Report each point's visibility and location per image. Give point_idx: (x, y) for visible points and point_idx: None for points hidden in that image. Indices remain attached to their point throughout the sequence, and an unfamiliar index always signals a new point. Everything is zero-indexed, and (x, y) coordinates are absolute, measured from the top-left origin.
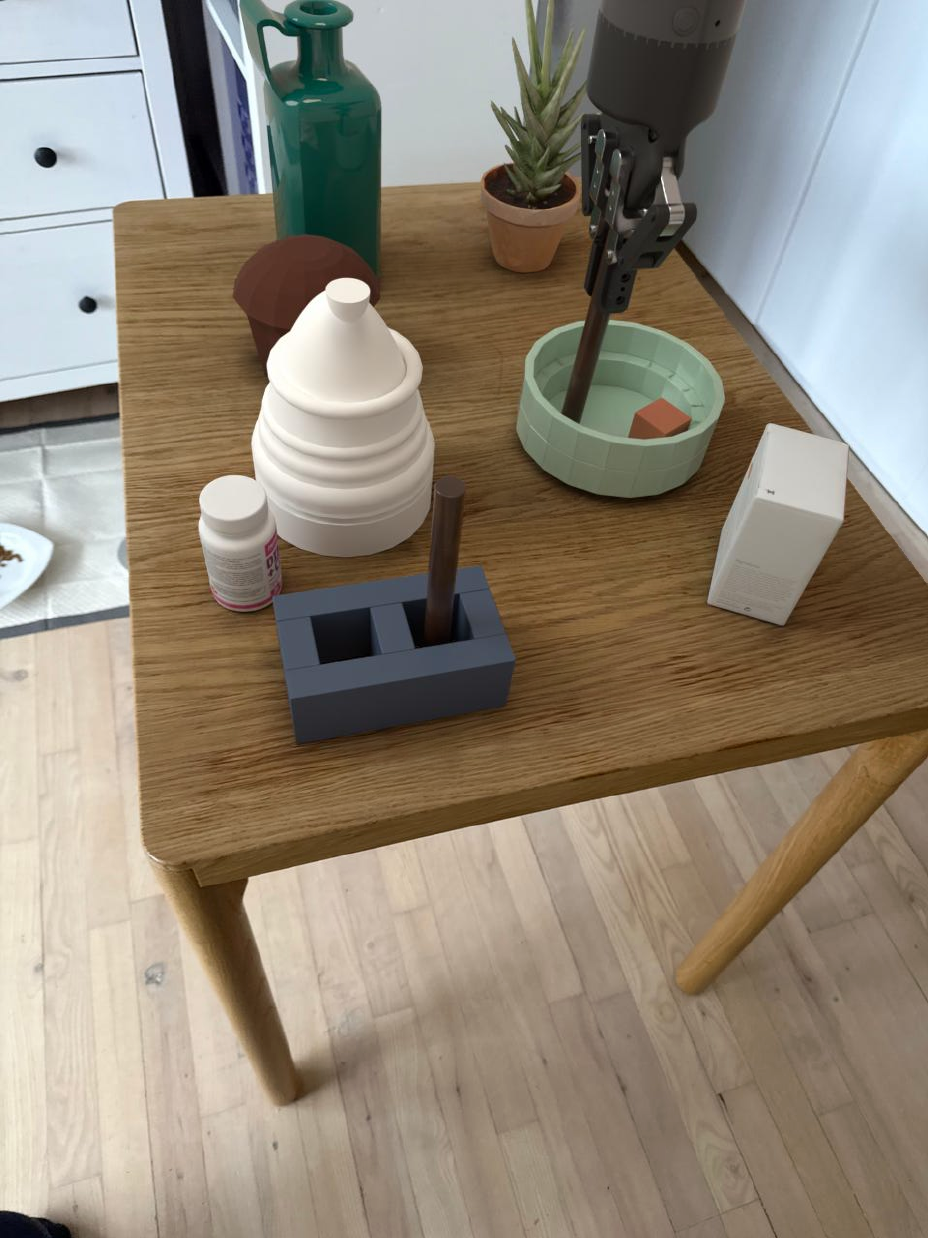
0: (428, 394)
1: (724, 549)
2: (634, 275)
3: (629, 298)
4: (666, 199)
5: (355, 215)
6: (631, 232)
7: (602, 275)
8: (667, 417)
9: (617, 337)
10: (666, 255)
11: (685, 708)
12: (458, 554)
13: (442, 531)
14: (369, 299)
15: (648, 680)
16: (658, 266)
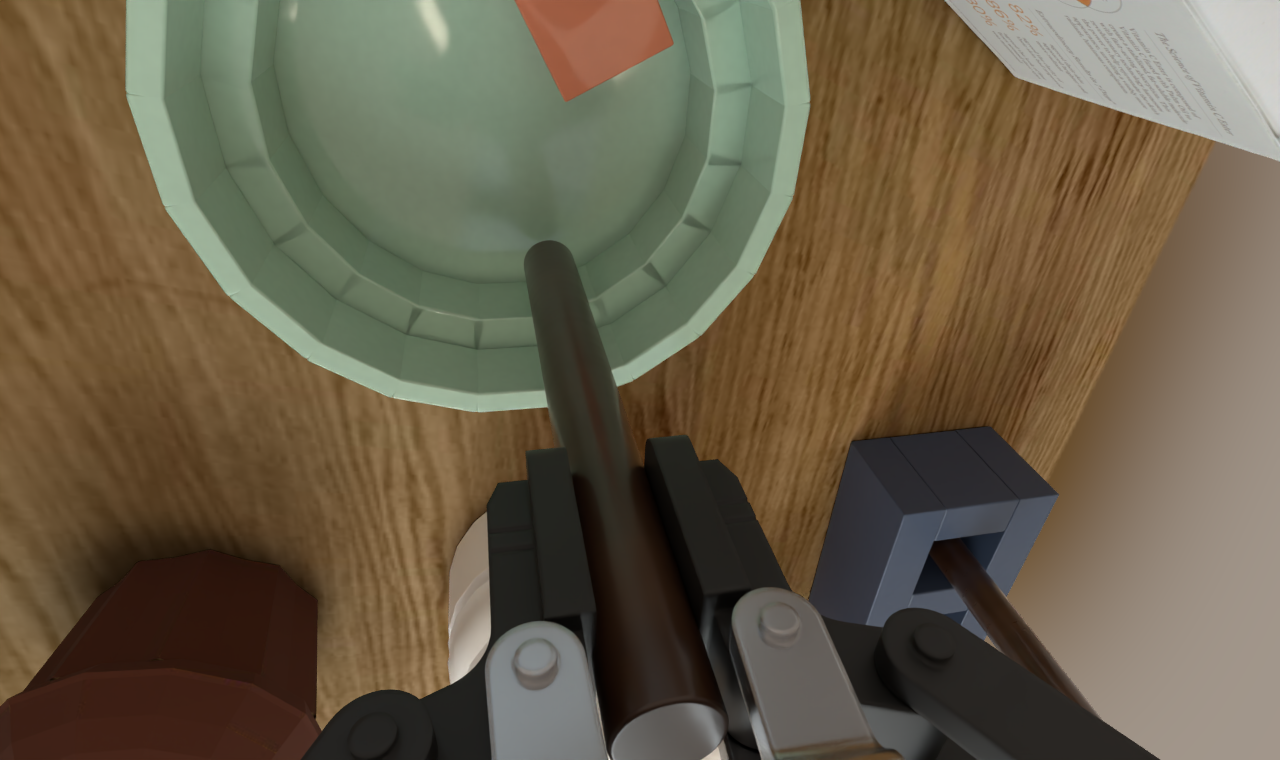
0: (318, 452)
1: (1037, 52)
2: (780, 574)
3: (744, 495)
4: None
5: None
6: (680, 704)
7: None
8: (606, 3)
9: (185, 39)
10: (1055, 697)
11: (1131, 204)
12: (1064, 673)
13: None
14: (207, 697)
15: (1064, 241)
16: (952, 623)
